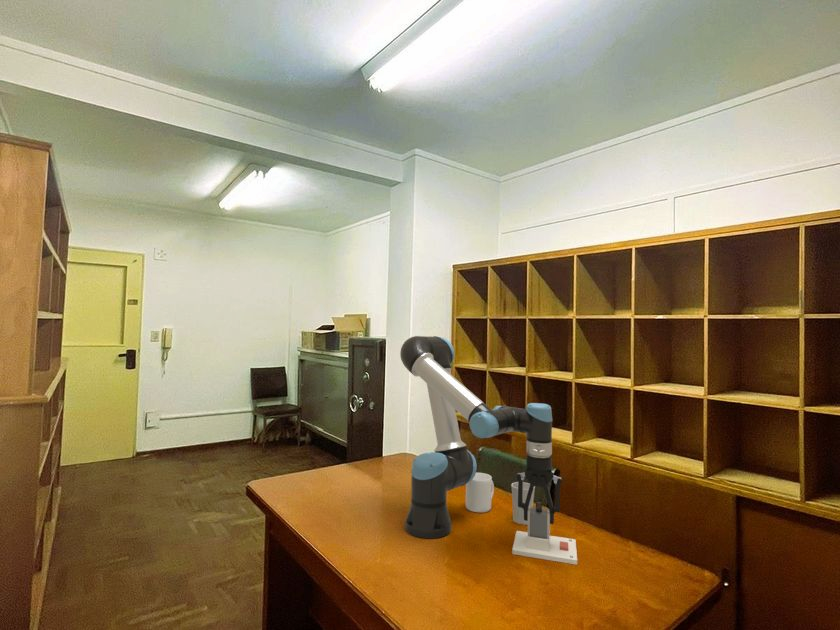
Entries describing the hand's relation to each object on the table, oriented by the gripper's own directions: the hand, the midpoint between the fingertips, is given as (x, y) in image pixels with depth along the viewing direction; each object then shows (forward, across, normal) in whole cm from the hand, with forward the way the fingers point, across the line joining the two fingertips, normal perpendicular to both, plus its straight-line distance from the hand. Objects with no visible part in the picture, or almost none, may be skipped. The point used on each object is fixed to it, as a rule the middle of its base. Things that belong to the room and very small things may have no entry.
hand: (538, 532), depth 136 cm
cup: (+5, -6, +19) cm, 21 cm away
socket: (+4, +2, 0) cm, 5 cm away
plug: (+4, 0, 0) cm, 4 cm away
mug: (+4, -22, +26) cm, 35 cm away
